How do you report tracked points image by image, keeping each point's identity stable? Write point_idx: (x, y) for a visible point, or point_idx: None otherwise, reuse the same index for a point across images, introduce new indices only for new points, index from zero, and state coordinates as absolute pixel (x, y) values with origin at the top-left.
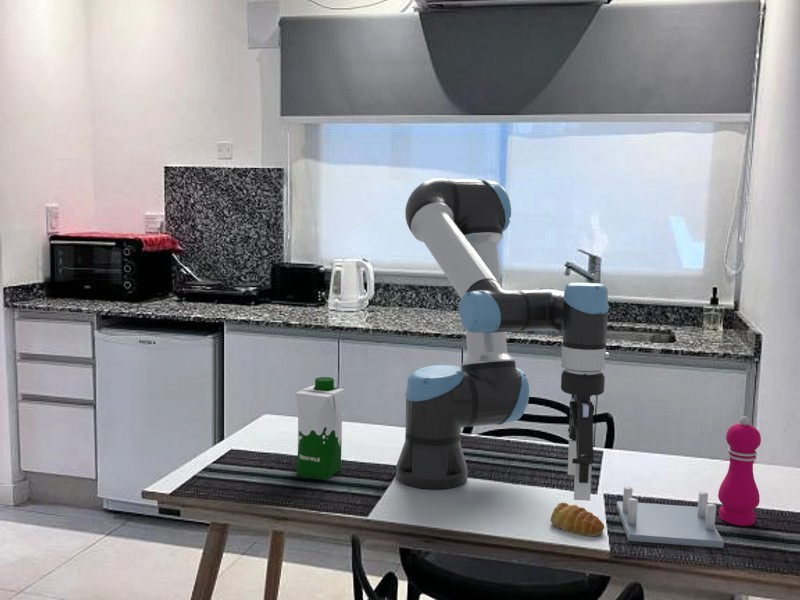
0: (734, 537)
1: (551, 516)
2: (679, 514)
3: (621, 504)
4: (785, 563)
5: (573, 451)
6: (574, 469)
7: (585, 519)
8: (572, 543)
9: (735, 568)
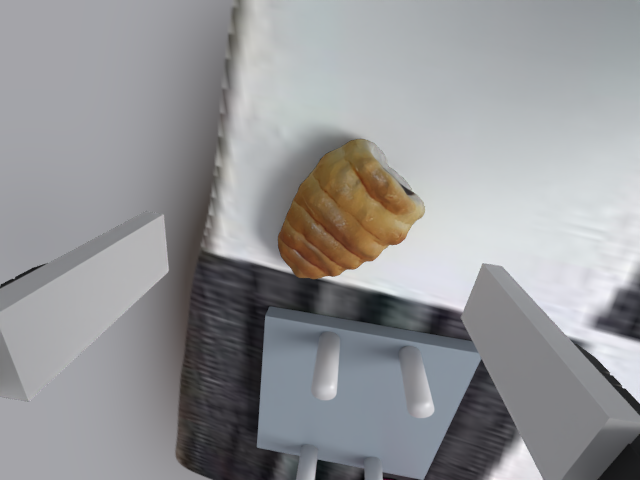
0: None
1: (355, 142)
2: (385, 436)
3: (457, 357)
4: (218, 476)
5: (537, 371)
6: (482, 304)
7: (299, 238)
8: (234, 174)
9: (183, 418)
